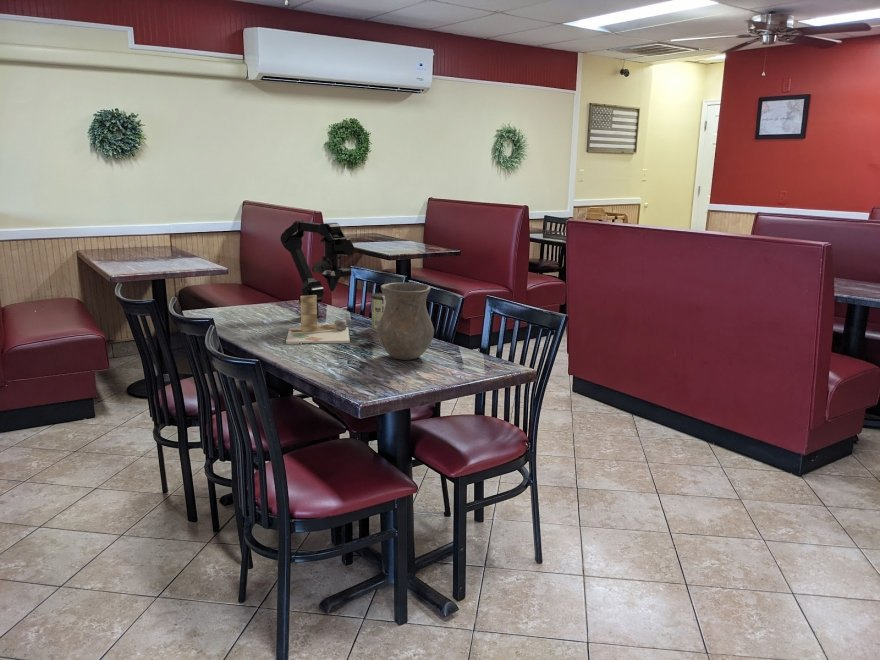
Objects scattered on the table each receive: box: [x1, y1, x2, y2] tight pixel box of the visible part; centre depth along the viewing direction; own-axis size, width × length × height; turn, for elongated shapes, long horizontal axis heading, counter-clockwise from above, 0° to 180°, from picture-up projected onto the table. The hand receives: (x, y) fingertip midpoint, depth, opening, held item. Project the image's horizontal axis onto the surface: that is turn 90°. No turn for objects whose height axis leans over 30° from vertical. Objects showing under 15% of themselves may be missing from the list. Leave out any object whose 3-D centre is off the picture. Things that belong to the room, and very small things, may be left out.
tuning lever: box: [291, 295, 347, 333], centre depth 267 cm, size 22×4×14 cm, turn 121°
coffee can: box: [370, 292, 384, 332], centre depth 278 cm, size 10×10×14 cm
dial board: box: [285, 326, 351, 345], centre depth 265 cm, size 23×22×1 cm
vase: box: [376, 281, 435, 361], centre depth 236 cm, size 20×19×25 cm
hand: (332, 291), depth 289 cm, fingers closed
